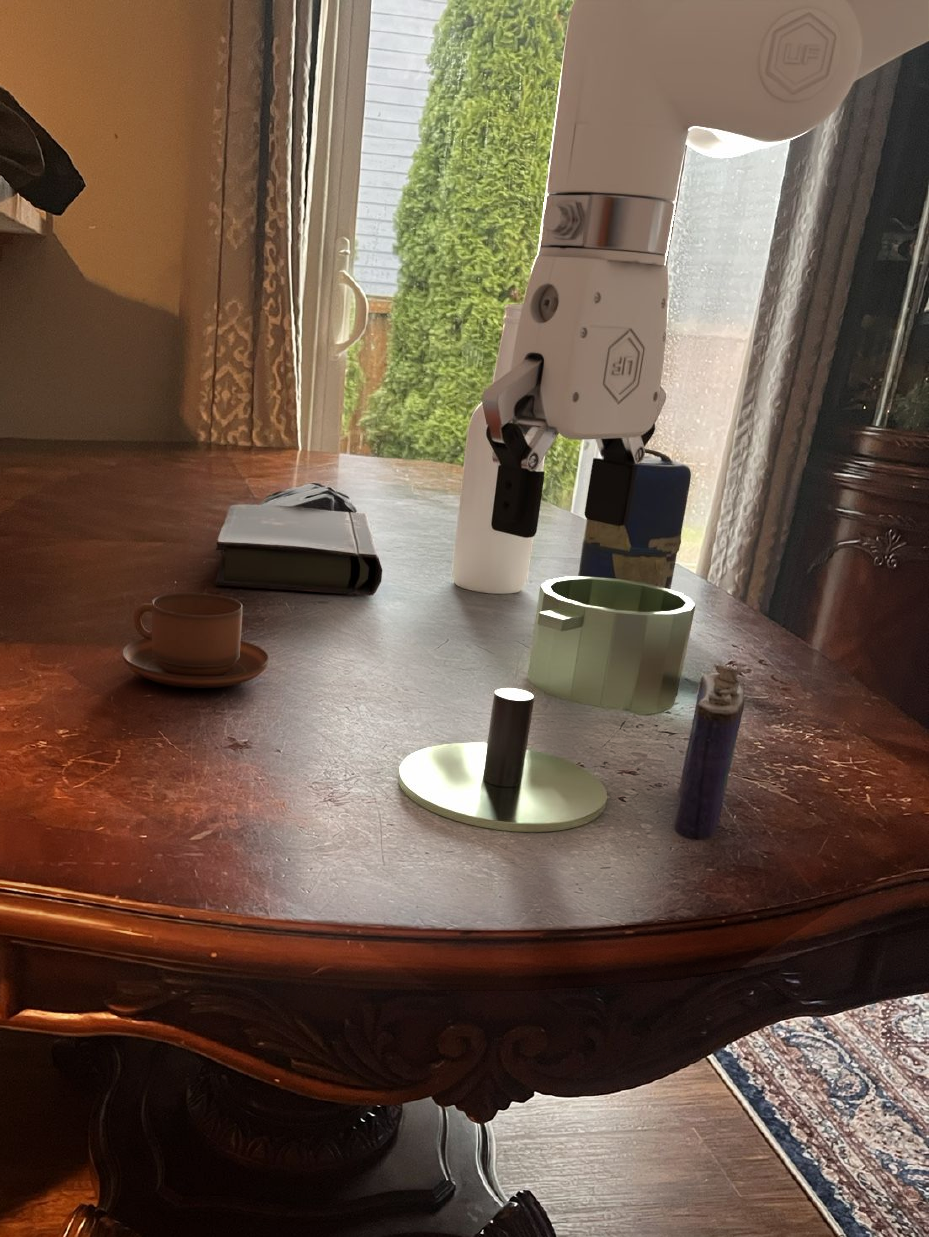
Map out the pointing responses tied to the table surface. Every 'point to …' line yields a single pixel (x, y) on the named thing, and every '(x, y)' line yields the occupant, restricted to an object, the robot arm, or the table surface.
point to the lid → (503, 777)
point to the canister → (642, 528)
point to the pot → (610, 643)
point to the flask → (709, 752)
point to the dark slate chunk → (312, 498)
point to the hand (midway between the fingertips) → (560, 527)
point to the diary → (298, 550)
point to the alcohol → (488, 501)
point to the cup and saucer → (194, 643)
